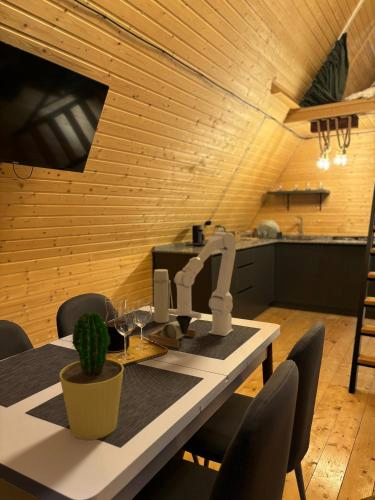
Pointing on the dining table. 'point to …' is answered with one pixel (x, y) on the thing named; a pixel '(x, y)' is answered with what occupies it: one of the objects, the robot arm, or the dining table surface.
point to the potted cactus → (91, 381)
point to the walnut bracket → (168, 341)
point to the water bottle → (161, 296)
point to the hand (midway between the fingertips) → (184, 333)
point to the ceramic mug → (172, 330)
